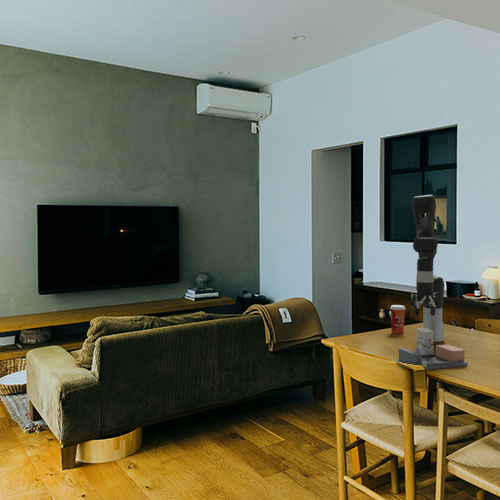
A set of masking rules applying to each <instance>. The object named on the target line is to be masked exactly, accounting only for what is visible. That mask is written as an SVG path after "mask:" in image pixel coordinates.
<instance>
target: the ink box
mask: <svg viewBox="0 0 500 500" xmlns="http://www.w3.org/2000/svg"><path fill="white" fill-rule="evenodd" d="M434 343H435V342H434V332H433V331H432V330H430V329H428V328H423V327H422V328H421V327H420V328H419V327H417V328H416V348H415V352H416V353H419V354H422V355H426V354H434Z"/></svg>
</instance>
